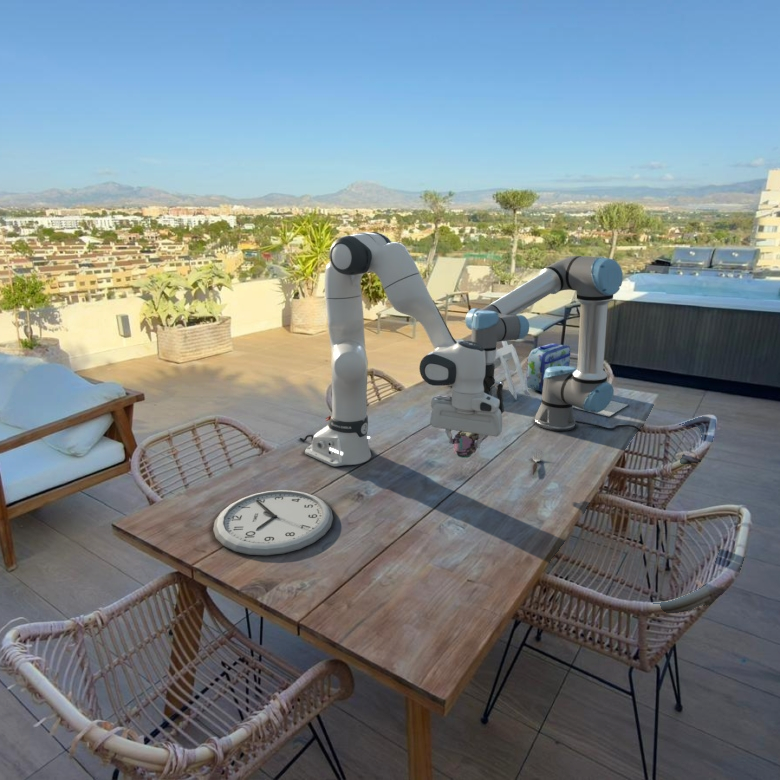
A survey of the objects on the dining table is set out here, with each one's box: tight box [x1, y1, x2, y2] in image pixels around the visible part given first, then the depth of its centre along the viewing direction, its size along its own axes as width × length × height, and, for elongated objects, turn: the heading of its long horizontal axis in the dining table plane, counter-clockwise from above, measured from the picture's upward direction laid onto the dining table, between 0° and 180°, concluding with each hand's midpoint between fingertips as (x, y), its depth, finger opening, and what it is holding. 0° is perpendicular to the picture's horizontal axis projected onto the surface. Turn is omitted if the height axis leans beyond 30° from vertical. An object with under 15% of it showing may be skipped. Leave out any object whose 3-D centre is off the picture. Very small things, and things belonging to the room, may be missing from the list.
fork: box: [532, 451, 543, 475], centre depth 168 cm, size 3×16×2 cm, turn 160°
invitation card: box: [573, 400, 629, 418], centre depth 226 cm, size 21×1×15 cm
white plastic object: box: [454, 338, 531, 400], centre depth 245 cm, size 37×45×31 cm
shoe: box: [453, 431, 489, 459], centre depth 157 cm, size 8×24×9 cm, turn 157°
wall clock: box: [212, 489, 334, 556], centre depth 134 cm, size 30×2×30 cm
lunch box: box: [525, 343, 571, 393], centre depth 249 cm, size 26×11×21 cm, turn 134°
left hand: (464, 445), depth 150 cm, fingers closed on shoe, 6 cm apart
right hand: (477, 431), depth 166 cm, fingers closed on shoe, 8 cm apart
